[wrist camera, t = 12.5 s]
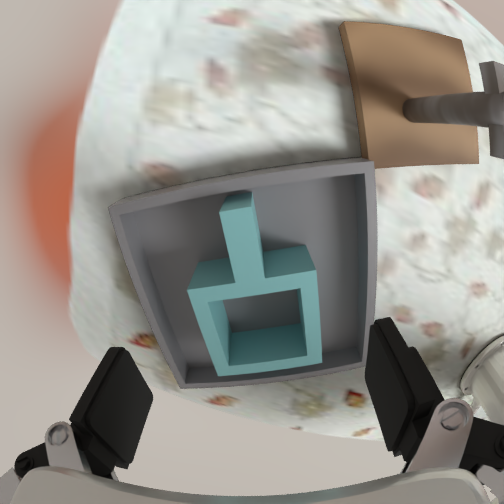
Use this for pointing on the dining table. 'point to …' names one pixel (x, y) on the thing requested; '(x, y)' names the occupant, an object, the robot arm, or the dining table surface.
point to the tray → (273, 238)
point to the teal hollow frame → (249, 284)
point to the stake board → (402, 78)
